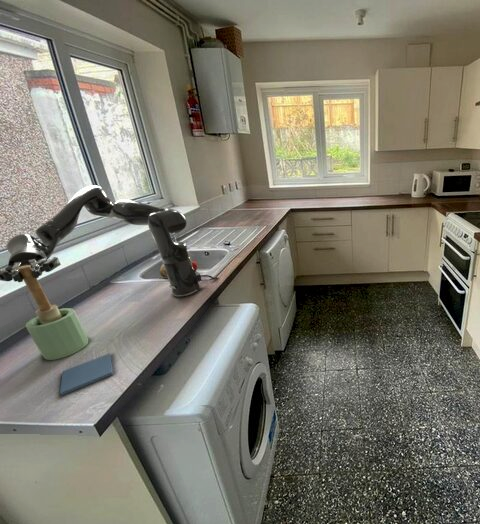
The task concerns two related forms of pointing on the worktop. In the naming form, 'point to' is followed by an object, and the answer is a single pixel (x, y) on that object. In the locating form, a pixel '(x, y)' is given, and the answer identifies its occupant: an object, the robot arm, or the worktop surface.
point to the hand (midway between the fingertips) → (26, 276)
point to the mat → (86, 374)
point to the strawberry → (194, 265)
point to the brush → (39, 297)
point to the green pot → (58, 335)
